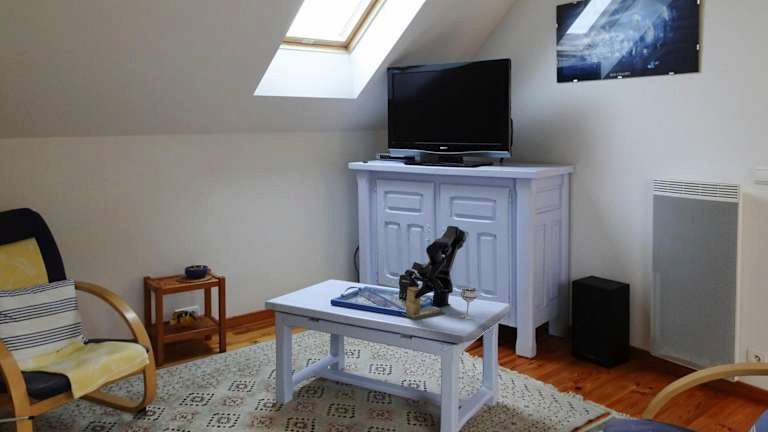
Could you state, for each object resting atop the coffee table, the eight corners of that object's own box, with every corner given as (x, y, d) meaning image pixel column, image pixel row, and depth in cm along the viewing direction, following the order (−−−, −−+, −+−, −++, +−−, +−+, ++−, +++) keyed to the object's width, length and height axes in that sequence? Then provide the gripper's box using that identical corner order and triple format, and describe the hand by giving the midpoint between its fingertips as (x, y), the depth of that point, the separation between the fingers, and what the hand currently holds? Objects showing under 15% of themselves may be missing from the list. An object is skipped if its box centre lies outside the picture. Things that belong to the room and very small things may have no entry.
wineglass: (464, 313, 282) (466, 286, 280) (478, 317, 278) (480, 289, 276) (455, 316, 277) (457, 288, 275) (469, 321, 273) (472, 292, 271)
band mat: (427, 306, 289) (427, 303, 289) (445, 313, 281) (445, 310, 280) (397, 312, 278) (397, 308, 278) (414, 320, 270) (414, 316, 270)
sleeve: (413, 312, 278) (414, 286, 276) (419, 314, 275) (421, 288, 273) (405, 313, 276) (407, 287, 274) (412, 316, 272) (414, 290, 271)
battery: (396, 298, 298) (398, 273, 296) (399, 296, 301) (401, 271, 299) (411, 301, 295) (413, 276, 294) (414, 299, 299) (416, 274, 297)
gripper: (409, 250, 281) (386, 279, 276) (439, 260, 266) (417, 290, 261) (421, 266, 287) (400, 294, 282) (452, 277, 273) (430, 307, 268)
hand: (411, 296), depth 273 cm, fingers open, 5 cm apart
